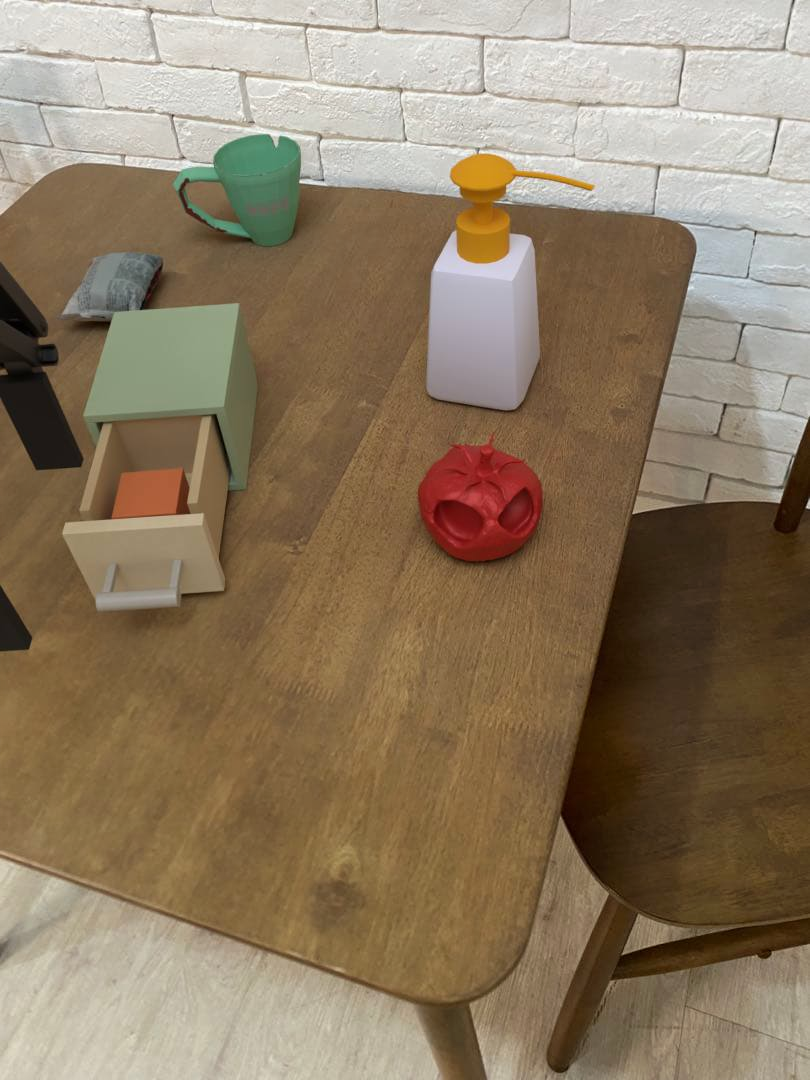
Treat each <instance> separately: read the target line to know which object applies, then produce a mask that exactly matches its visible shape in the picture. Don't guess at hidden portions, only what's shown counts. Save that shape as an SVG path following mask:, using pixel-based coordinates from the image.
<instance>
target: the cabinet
mask: <svg viewBox="0 0 810 1080" xmlns="http://www.w3.org/2000/svg"><path fill="white" fill-rule="evenodd" d="M247 334H248V333H247V330H246V326H245V321H244V317H243V312H242V309H241V304H240V303H239V302H235V303H233V302H232V303H221V304H219V303H218V304H207V305H206V304H205V305H193V306H181V307H167V308H166V307H165V308H152V309H144V310H137V311H123V312H114V315H113V318H112V321H110V325H109V329H108V331H107V334H106V338H105V341H104V345H103V348H102V351H101V355H100V358H99V361H98V365H97V368H96V371H95V375H94V377H93V382H92V385H91V388H90V391H89V395H88V398H87V401H86V404H85V408H84V411H83V415H82V418H83V420H84V422H85V425H86V428H87V430H88V432H89V434H90V436H91V439H92V441H93V444H94V447H95V449H96V448H97V444H98V441H99V437H100V433H101V430H102V426H103V423H104V422H109V421H123V420H137V419H152V418H166V417H180V416H195V415H209V414H214V415H215V418H216V422H217V425H218V429H219V432H220V436H221V439H222V443H223V447H224V450H225V454H226V457H227V461H228V465H229V468H230V476H229V484H228V491H229V492H230V491H242V490H243V491H244V490H247V486H248V477H249V468H250V460H251V450H252V442H253V435H254V425H255V418H256V417H255V416H256V408H257V399H258V390H259V383H258V377H257V374H256V369H255V365H254V360H253V355H252V352H251V351H252V350H251V348H250V343H249V338H248V335H247ZM228 491H227V492H228Z"/></svg>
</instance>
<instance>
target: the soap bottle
mask: <svg viewBox="0 0 810 1080" xmlns="http://www.w3.org/2000/svg"><path fill="white" fill-rule="evenodd" d="M516 177H518V178H526V179H527V178H528V179H538V180H544V181H545V180H546V181H551V182H555V183H560V184H564V185H568V186H572V187H576V188H579V189H583V190H586V191H590V192H592V191H593V190H594V189H595V187H596V185H595V184H591V183H588V182H584V181H580V180H577V179H574V178H570V177H566V176H562V175H557V174H553V173H545V172H539V171H538V172H537V171H529V170H519V169H517V168H516V167H515V165H514V164H513V163H512V162H511V161H510V160H509V159H506V158H505V157H502V156H501V155H500V156H499V155H497V154H494V153H493V154H492V153H477V154H472V155H470V156H468V157H467V156H466V157H465V158H463V159H461V160H459V161H457V162H456V163H455V165H454V166H452V168H450V173H449V178H450V180H451V182H452V183H453V185H455V186H458V187H459V195H460V196H461V198H462V199H464V200H467V201H468V202H472V204H473V207H470V208H467V209H465V210H464V211H462V212H460V213H459V214H458V216H457V217H456V222H455V230H454V231H452V232H451V234H450V236H449V238H448V240H447V241H446V243H445V245H444V247H443V249H442V251H441V252H440V255H439V256H438V258H437V260H436V261H435V264H434V265H433V267H432V270H431V271H430V272H431V273H430V287H429V288H430V289H429V290H430V291H429V312H428V332H427V351H426V371H425V374H426V375H425V387H426V392H427V394H428V396H430V397H432V398H433V399H436V400H439V401H445V402H452V403H457V404H465V405H470V406H475V407H481V408H488V409H494V410H499V411H513V410H516V409H518V408H519V406H520V405H521V404H522V403H523V401H524V400H525V397H526V395H527V392H528V390H529V387H530V384H531V382H532V379H533V377H534V373H535V372H536V368H537V366H538V363H539V361H540V358H541V344H540V325H539V324H540V323H539V309H538V308H539V307H538V305H539V304H538V288H537V271H536V253H535V247H534V244H533V241H532V238H531V237H529V236H527V235H525V234H518V233H511V217H510V215H509V214H508V211H507V212H506V210H503V209H501V208H499V207H495V206H494V202H496V201H498V200H500V199H502V198H503V197H504V196H505V195H506V194H507V186H508V185H510V184H511V183H512V182H513V181H514V180H515V179H516Z"/></svg>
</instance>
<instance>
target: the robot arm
mask: <svg viewBox="0 0 810 1080" xmlns="http://www.w3.org/2000/svg"><path fill="white" fill-rule="evenodd" d="M47 321H48V320H47V319H46V317H45V316H44V314H43V313H42V312H41V310H39V308H38V307H37V306H36V305H35V303H34V301H33V300H32V299H31V298H30V297H29V296H28V294H27V293H26V292H25V291H24V289H23V288H22V287H21V285H20V284H19V283H18V282H17V280H16V279H15V278H14V276H12V274H11V273H10V272H9V270H8V269H7V267H5V265H4V264H3V263H2V262H1V261H0V371H3V370H4V371H5V372H6V373H7V374H0V400H1V403H2V405H3V406H4V409H5V410H6V413H7V415H8V416H9V418H10V421H11V422H12V425H13V427H14V429H15V432H16V433H17V435H18V436H19V439H20V441H21V443H22V445H23V447H24V448H25V451H26V453H27V455H28V457H29V460H30V461H31V463H32V465H33V467H34V469H35V471H51V470H62V469H65V470H66V469H76V468H82V466H83V463H84V460H85V459H84V456H83V454H82V451H81V449H80V447H79V445H78V443H77V440H76V438H75V435H74V433H73V431H72V428H71V426H70V424H69V422H68V420H67V417H66V415H65V413H64V410H63V408H62V406H61V404H60V402H59V399H58V397H57V395H56V392H55V390H54V388H53V385H52V383H51V381H50V378H49V376H48V374H47V372H46V371H44V370H43V368H45V367H55V366H58V365H59V361H60V360H59V359H60V357H59V356H60V355H59V350H58V348H57V345H56V344H55V343H46V344H40V343H39V339H40V338H47V337H48V335H49V323H48V322H47ZM32 641H33V636H32V634H31V632H30V631H29V629H28V628H27V625H26V624H25V623H24V620H22V618H21V616H20V614H19V612H18V611H17V610H16V608H15V606H14V604H13V603H12V601H11V600H10V598H9V596H8V595H7V593H6V591H5V590H4V588H3V587H2V585H1V584H0V653H1V652H15V651H16V652H17V651H29V650H30V648H31V644H32Z"/></svg>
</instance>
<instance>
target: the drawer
mask: <svg viewBox="0 0 810 1080" xmlns="http://www.w3.org/2000/svg"><path fill="white" fill-rule="evenodd" d="M177 468H183V470H184V473H185V476H186V479H187V482H188V485H189V488H190V489H189V495H188V501H187V505H188V508H189V511H190V514H185V515H170V516H155V517H140V518H125V519H112V513H113V509H114V505H115V500H116V496H117V491H118V487H119V482H120V478H121V474H122V473H126V472H139V471H152V470H165V469H177ZM229 476H230V468H229V465H228V461H227V457H226V454H225V450H224V447H223V443H222V439H221V436H220V432H219V429H218V425H217V422H216V418H215V415H214V414H209V415H195V416H180V417H166V418H152V419H137V420H123V421H109V422H104V423H103V426H102V430H101V433H100V437H99V441H98V444H97V448H96V447H95V452H94V456H93V459H92V463H91V466H90V470H89V473H88V476H87V480H86V485H85V487H84V492H83V495H82V499H81V502H80V505H79V513H80V516H81V518H82V521H68V522H64V526H63V529H62V532H61V535H62V538H63V539H64V542H65V543H66V545H67V547H68V549H69V551H70V553H71V555H72V557H73V559H74V561H75V563H76V565H77V567H78V569H79V571H80V573H81V575H82V577H83V579H84V581H85V584H86V585H87V587H88V589H89V591H90V593H91V595H92V598H93V599H94V600H95V607H96V610H97V611H98V612H99V613H102V612H103V613H105V612H118V611H120V612H121V611H122V612H123V611H135V610H137V611H138V610H150V609H151V610H152V609H167V608H179V607H181V605H182V595H183V594H198V593H211V592H212V593H213V592H224V591H225V588H226V587H225V586H226V576H225V574H224V571H223V568H222V565H221V562H220V559H219V558H220V550H221V543H222V536H223V529H224V521H225V512H226V506H227V505H226V504H227V497H228V484H229Z"/></svg>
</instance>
